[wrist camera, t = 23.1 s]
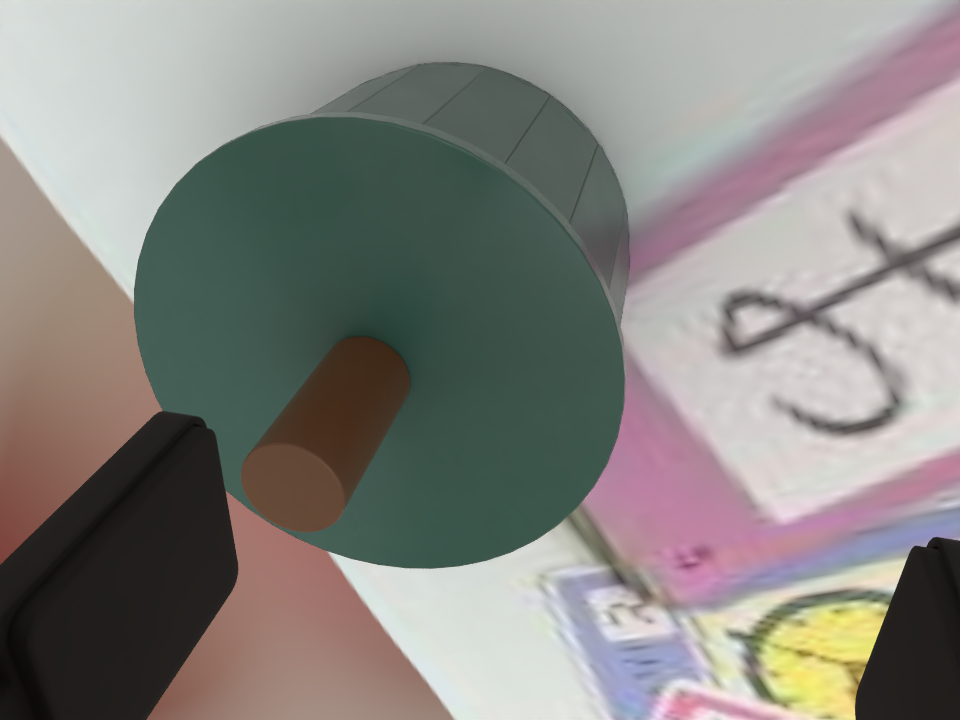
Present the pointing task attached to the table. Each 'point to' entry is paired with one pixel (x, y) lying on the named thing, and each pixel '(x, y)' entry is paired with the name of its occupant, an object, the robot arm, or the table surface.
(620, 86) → the table surface
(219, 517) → the robot arm
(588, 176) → the tin
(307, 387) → the lid
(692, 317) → the table surface
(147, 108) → the table surface
